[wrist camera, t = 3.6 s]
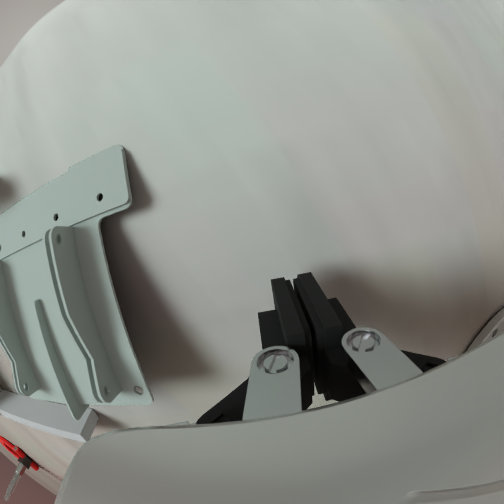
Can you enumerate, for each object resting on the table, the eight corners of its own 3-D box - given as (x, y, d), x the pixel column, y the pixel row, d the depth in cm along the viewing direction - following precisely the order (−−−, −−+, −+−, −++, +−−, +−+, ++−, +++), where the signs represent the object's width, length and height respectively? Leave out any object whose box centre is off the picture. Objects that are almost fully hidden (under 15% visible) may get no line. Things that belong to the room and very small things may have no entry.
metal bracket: (188, 437, 9) (9, 415, 10) (209, 378, 15) (50, 386, 16) (102, 109, 9) (-44, 219, 9) (150, 148, 15) (6, 221, 15)
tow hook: (18, 454, 25) (43, 469, 25) (-2, 492, 13) (23, 512, 12) (-6, 429, 22) (16, 443, 22) (-30, 468, 10) (-9, 489, 10)
